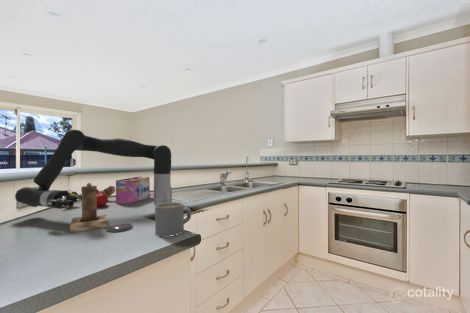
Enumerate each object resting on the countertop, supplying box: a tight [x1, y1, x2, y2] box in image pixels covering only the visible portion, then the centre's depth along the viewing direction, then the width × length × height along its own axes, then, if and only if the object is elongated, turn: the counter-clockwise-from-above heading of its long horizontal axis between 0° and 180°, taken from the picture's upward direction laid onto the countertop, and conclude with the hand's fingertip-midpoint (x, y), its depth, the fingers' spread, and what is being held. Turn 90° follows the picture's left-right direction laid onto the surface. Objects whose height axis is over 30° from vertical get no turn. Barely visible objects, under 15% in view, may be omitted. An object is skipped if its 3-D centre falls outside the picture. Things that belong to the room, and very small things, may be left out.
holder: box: [69, 213, 108, 233], centre depth 95 cm, size 12×12×2 cm
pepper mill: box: [80, 182, 98, 222], centre depth 95 cm, size 5×5×17 cm
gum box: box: [115, 176, 151, 205], centre depth 148 cm, size 24×8×14 cm, turn 166°
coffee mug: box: [154, 201, 192, 237], centre depth 87 cm, size 13×10×10 cm
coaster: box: [105, 223, 133, 233], centre depth 91 cm, size 9×9×1 cm
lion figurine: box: [98, 185, 116, 202], centre depth 145 cm, size 15×5×9 cm, turn 112°
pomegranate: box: [96, 188, 109, 208], centre depth 130 cm, size 10×10×9 cm
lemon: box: [65, 190, 79, 208], centre depth 129 cm, size 7×6×10 cm
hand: (83, 201), depth 96 cm, fingers open, 8 cm apart
